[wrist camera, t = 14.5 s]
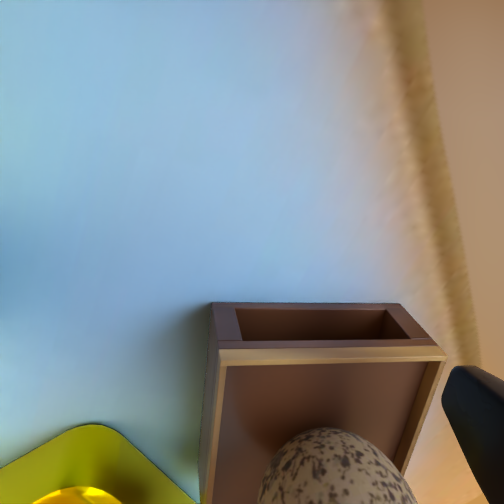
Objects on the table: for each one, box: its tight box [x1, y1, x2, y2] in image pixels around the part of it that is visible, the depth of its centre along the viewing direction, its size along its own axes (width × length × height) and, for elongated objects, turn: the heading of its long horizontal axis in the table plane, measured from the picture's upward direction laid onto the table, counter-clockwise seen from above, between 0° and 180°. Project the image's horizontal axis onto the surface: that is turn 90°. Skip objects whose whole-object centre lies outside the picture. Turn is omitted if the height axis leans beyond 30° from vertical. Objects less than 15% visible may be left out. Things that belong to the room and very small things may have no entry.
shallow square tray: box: [198, 303, 448, 504], centre depth 24 cm, size 11×12×5 cm
